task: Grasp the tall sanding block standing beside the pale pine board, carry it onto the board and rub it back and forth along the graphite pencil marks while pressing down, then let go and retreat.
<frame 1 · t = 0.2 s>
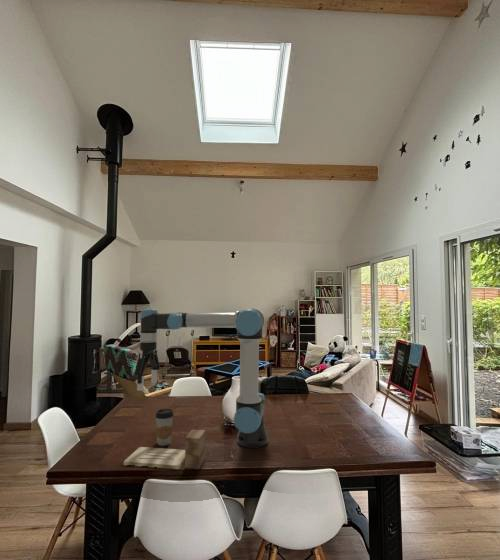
hand: (147, 386, 154), 28 cm above the table, fingers open, 13 cm apart
board: (158, 459, 140), on the table
coffee cup: (164, 443, 157), on the table
sanding block: (195, 463, 137), on the table
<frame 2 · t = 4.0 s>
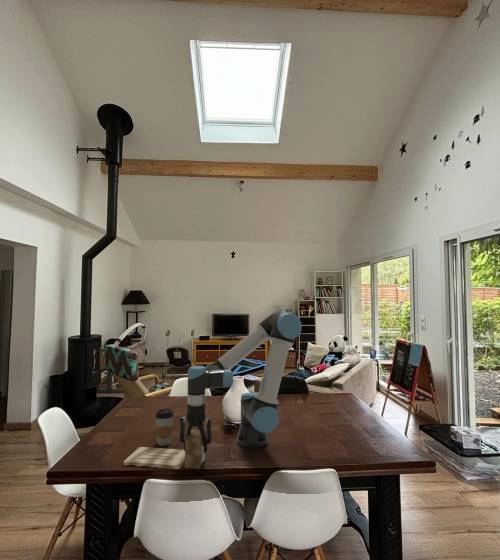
hand: (195, 459, 137), 1 cm above the table, fingers closed on sanding block, 6 cm apart
sanding block: (195, 463, 137), on the table, touching gripper
everything else where it was.
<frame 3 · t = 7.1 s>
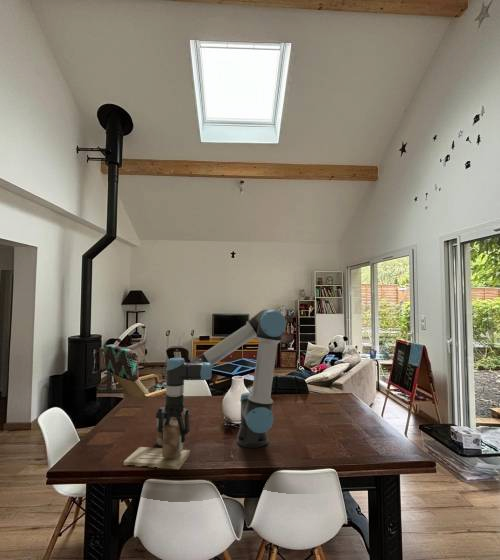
hand: (173, 449, 140), 5 cm above the table, fingers closed on sanding block, 6 cm apart
sanding block: (173, 452, 139), point 3 cm above the table, touching gripper
everything else where it was.
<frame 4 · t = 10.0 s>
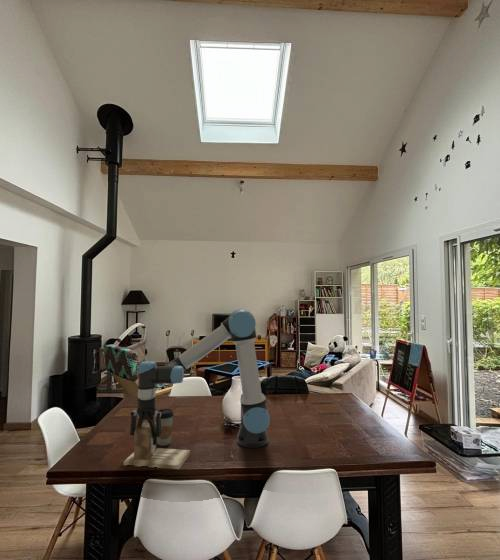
hand: (145, 451, 141), 3 cm above the table, fingers closed on sanding block, 6 cm apart
sanding block: (145, 454, 141), point 2 cm above the table, touching board, gripper
everything else where it was.
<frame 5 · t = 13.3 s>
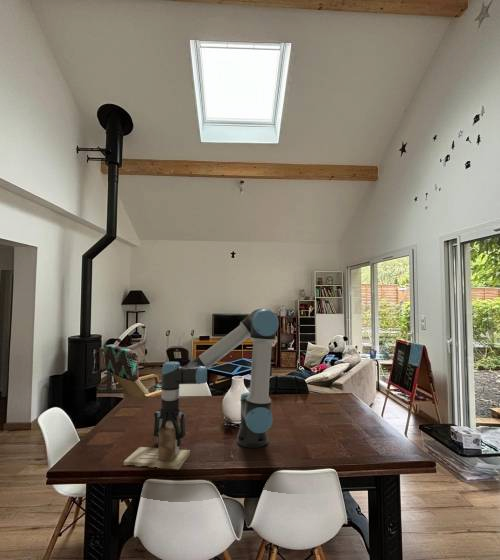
hand: (169, 453, 140), 3 cm above the table, fingers closed on sanding block, 6 cm apart
sanding block: (169, 455, 140), point 2 cm above the table, touching gripper
everything else where it was.
when the fingers open (3 cm above the table, at t = 16.1 s): sanding block stays where it is, resting on board.
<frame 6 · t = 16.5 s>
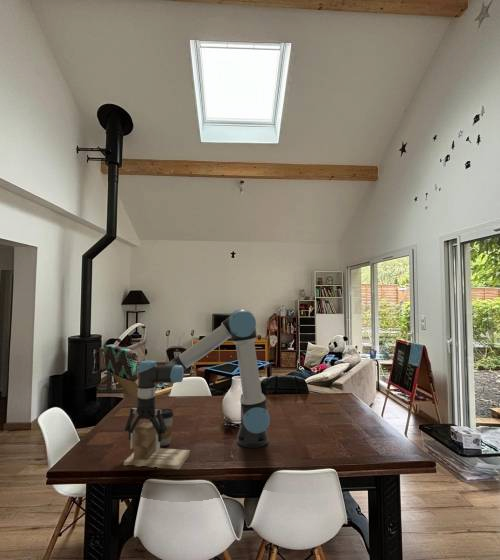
hand: (145, 448, 141), 4 cm above the table, fingers open, 11 cm apart
sanding block: (145, 454, 141), point 2 cm above the table, touching board
everything else where it was.
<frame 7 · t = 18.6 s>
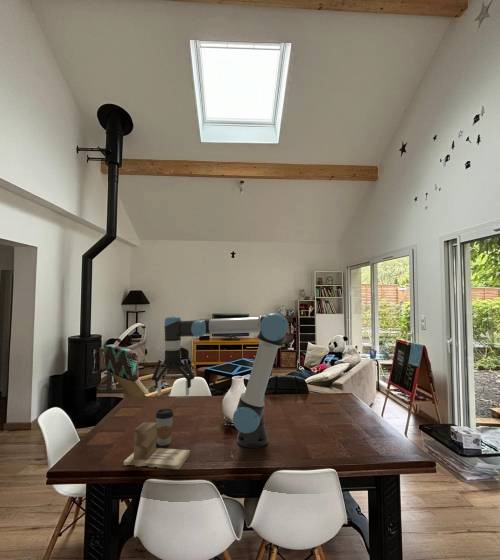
hand: (173, 395, 153), 24 cm above the table, fingers open, 13 cm apart
nothing on the table moved.
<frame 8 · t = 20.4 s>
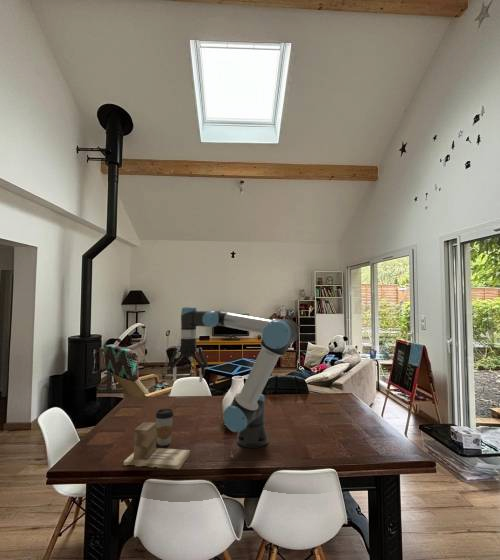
hand: (187, 381, 161), 29 cm above the table, fingers open, 13 cm apart
nothing on the table moved.
at the end: sanding block inside the target area (5.0 cm from its centre), point 1.6 cm above the table; sanding block tilted 0°; the gripper is holding nothing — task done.
